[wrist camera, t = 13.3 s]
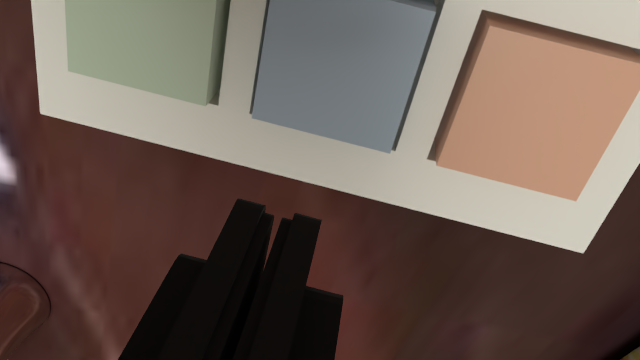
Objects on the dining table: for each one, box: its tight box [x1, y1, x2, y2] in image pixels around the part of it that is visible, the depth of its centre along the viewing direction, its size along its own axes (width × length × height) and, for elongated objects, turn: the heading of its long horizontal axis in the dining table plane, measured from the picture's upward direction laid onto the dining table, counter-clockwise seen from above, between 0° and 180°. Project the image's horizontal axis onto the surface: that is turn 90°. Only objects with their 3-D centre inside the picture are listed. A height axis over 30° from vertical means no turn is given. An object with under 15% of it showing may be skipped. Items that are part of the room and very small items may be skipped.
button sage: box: [65, 0, 231, 106], centre depth 22 cm, size 6×6×2 cm
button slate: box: [252, 0, 436, 154], centre depth 22 cm, size 6×6×2 cm
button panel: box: [31, 0, 640, 253], centre depth 23 cm, size 12×26×4 cm, turn 78°
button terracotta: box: [434, 9, 640, 201], centre depth 22 cm, size 6×6×2 cm
